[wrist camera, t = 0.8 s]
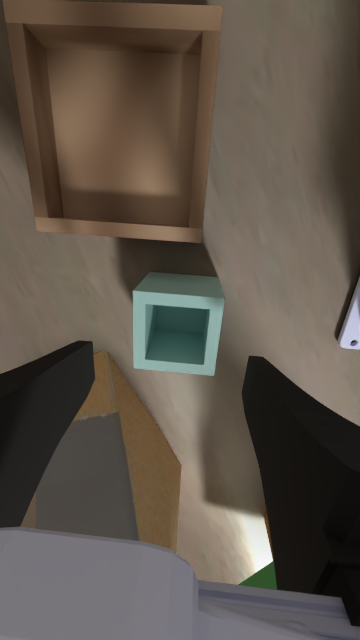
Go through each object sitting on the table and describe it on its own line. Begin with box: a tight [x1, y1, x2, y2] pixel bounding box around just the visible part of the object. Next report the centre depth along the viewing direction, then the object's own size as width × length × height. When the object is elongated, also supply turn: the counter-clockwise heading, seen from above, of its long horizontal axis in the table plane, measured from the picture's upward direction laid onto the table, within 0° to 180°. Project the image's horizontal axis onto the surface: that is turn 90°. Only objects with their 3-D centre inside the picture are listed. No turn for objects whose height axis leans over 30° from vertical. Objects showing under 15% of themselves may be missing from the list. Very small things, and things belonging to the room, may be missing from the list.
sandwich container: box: [36, 351, 181, 553], centre depth 18 cm, size 9×15×15 cm, turn 26°
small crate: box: [133, 272, 225, 376], centre depth 17 cm, size 5×5×5 cm
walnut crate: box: [2, 0, 223, 243], centre depth 14 cm, size 10×10×2 cm
